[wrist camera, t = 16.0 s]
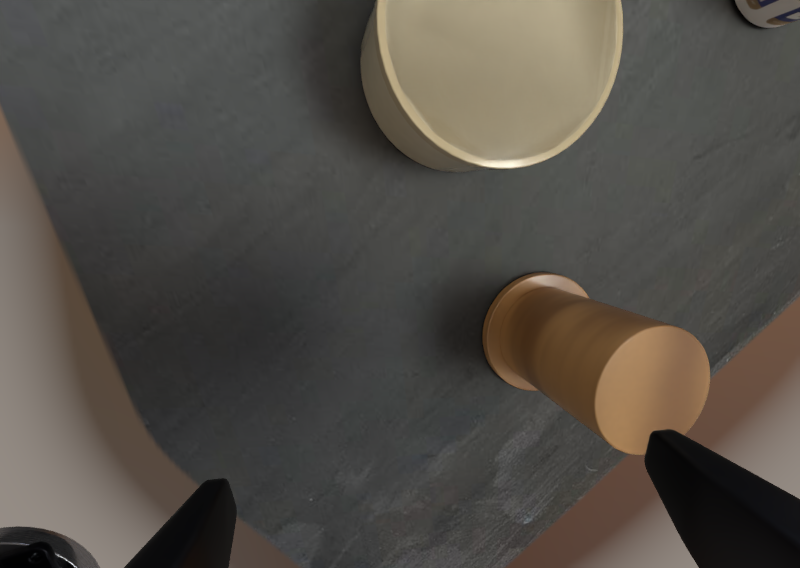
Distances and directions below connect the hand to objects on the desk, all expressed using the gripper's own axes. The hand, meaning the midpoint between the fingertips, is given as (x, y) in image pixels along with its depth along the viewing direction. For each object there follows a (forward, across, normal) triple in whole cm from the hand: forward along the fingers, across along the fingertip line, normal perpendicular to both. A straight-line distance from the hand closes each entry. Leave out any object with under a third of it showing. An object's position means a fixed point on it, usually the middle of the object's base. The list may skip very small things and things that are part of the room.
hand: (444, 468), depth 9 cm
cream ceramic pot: (+15, -4, -8) cm, 18 cm away
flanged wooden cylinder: (+13, -7, +5) cm, 16 cm away
